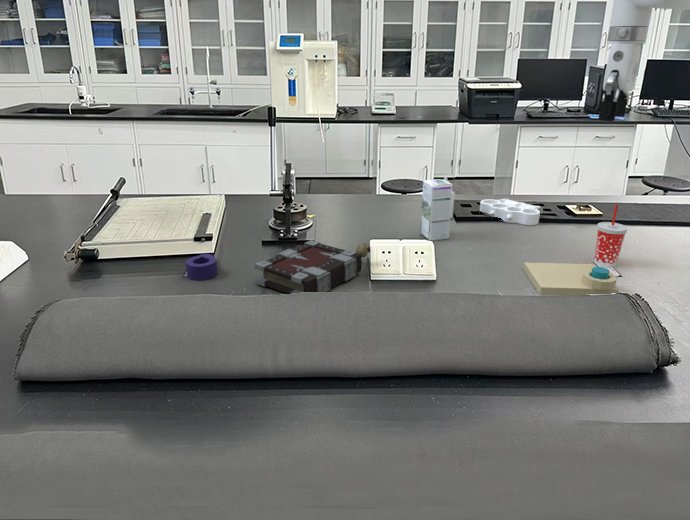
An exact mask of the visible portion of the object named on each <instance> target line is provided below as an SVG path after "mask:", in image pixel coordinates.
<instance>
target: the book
mask: <svg viewBox="0 0 690 520" xmlns="http://www.w3.org/2000/svg"><path fill="white" fill-rule="evenodd" d="M370 248H371V247H370V246H368V243H367V242H365V243H362V244H359V245H357V247H356V249H355V251H354V250H350V249H343V248H338V247H335V246H331V245H327V244H324V243H321V242H320V241H317V240H313V239H310V240H308V241H306V242H304V244H302V245H300V246H298V247H295V248H293V249H292V248H287V249H285V250H281V252H278V253H275V254H274V256H273V257H271V258H269V259H267V260H260V261H259V262H256V263H254V270H257V271H259V272H263V273H262V274H263V275H260V276H258V277H257V278H255V284H256V285H258V286H262V287H268V288H271V289H274V290H277V291H280V292H282V293H285V294H288V293H300V292H326V291H327V292H329V291H330V290H331V289H332V288H333V287H335V286H338V285H339V284H341V283H342V282H347V281H349V280H352V279H353V278H354V277H356V276H357V274H359V273H361V271H362V265H363V259H362V258H366V257H367V256H368V253H371V252H370ZM327 292H326V293H327Z"/></svg>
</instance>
